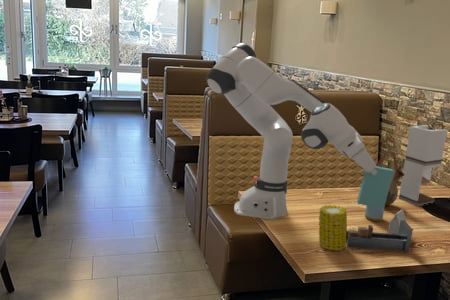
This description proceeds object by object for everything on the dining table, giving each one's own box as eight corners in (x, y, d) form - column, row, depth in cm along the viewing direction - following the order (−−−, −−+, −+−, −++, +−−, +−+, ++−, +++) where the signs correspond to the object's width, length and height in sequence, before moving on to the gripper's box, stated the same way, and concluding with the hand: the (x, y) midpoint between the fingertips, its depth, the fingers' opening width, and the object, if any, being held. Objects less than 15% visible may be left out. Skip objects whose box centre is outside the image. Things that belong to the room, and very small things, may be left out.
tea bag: (403, 234, 166) (407, 210, 163) (397, 240, 161) (401, 215, 158) (394, 231, 168) (397, 207, 166) (387, 237, 163) (391, 212, 161)
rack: (348, 248, 152) (351, 225, 150) (343, 238, 160) (346, 216, 157) (408, 253, 151) (412, 229, 149) (401, 243, 159) (404, 220, 156)
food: (338, 258, 148) (312, 249, 154) (354, 241, 156) (329, 233, 162) (336, 220, 142) (310, 213, 149) (353, 204, 150) (327, 197, 156)
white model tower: (418, 206, 197) (431, 131, 188) (398, 198, 206) (410, 126, 197) (434, 202, 202) (447, 129, 194) (414, 195, 211) (426, 125, 203)
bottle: (383, 222, 176) (388, 188, 173) (365, 220, 178) (370, 186, 174) (381, 216, 183) (386, 182, 179) (364, 214, 184) (368, 180, 180)
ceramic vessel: (404, 208, 193) (413, 154, 186) (390, 212, 188) (399, 156, 182) (375, 196, 206) (382, 146, 200) (362, 199, 202) (369, 147, 196)
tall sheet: (358, 203, 152) (368, 166, 148) (356, 201, 154) (366, 164, 150) (383, 208, 152) (394, 171, 148) (381, 206, 154) (392, 169, 150)
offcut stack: (348, 245, 155) (350, 225, 153) (346, 242, 157) (349, 223, 155) (370, 246, 154) (373, 227, 152) (368, 244, 156) (371, 225, 155)
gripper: (335, 141, 158) (359, 168, 160) (347, 156, 139) (374, 187, 141) (349, 130, 157) (373, 158, 159) (363, 143, 137) (390, 175, 139)
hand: (373, 171), depth 150 cm, fingers closed on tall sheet, 2 cm apart
